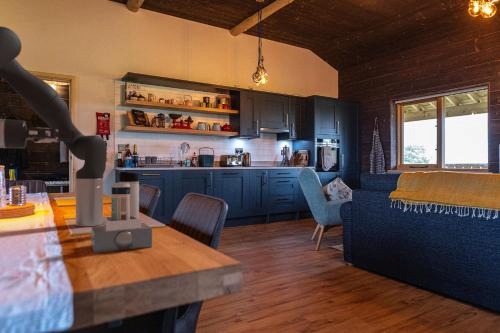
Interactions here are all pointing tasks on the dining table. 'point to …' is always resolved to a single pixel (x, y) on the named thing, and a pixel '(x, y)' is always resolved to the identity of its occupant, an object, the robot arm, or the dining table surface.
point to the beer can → (120, 201)
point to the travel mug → (132, 190)
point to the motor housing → (120, 235)
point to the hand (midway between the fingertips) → (74, 136)
